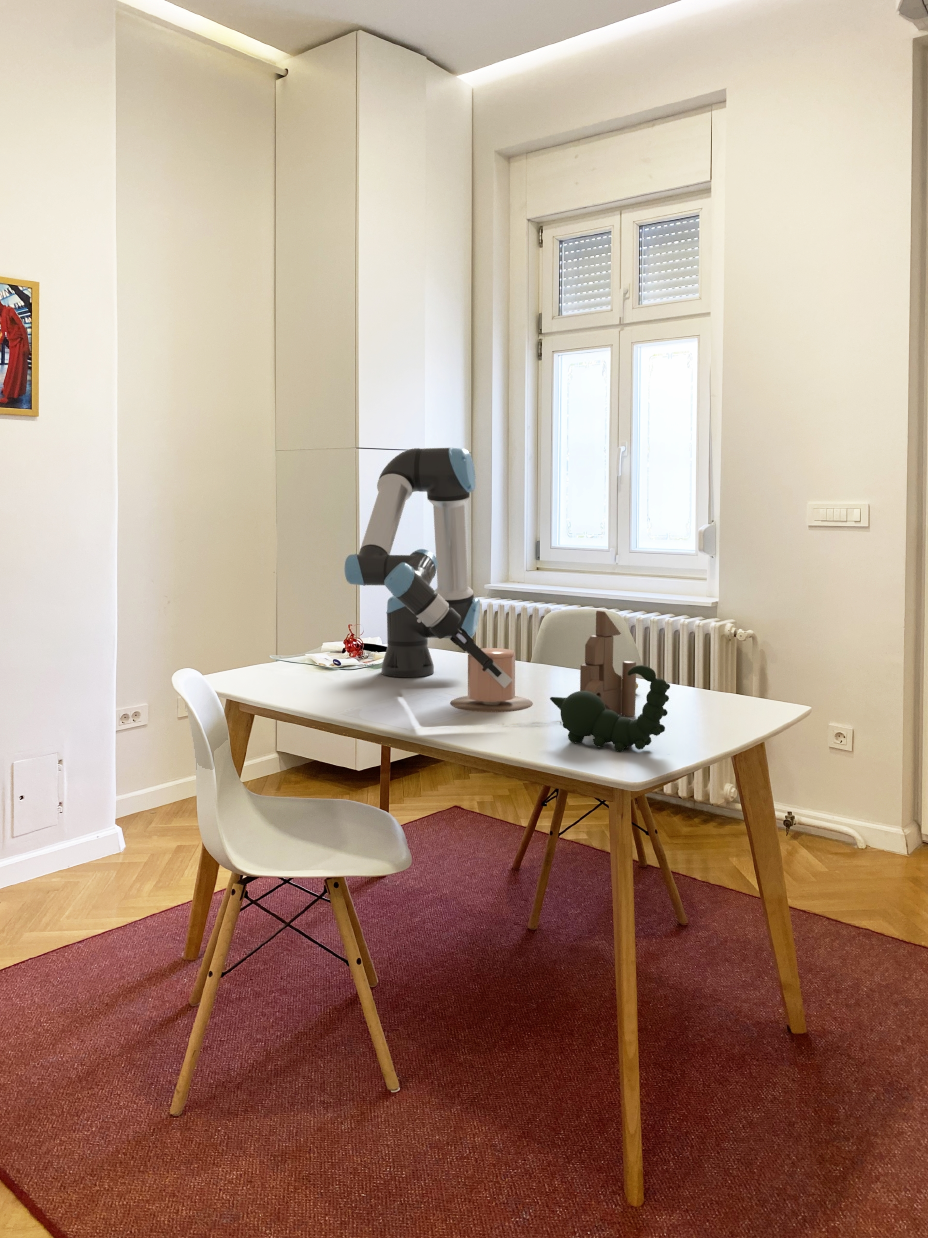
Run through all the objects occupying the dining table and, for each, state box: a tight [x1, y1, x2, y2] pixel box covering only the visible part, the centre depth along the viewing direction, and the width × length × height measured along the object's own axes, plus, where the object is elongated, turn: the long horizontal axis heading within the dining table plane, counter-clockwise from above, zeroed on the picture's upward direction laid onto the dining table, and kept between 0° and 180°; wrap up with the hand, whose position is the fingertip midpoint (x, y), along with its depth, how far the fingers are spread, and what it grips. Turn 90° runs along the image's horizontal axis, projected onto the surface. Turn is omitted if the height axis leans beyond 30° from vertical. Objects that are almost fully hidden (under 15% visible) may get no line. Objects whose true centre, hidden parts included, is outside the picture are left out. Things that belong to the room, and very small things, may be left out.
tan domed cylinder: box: [467, 647, 516, 702], centre depth 231 cm, size 11×11×11 cm
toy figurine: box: [549, 664, 671, 753], centre depth 197 cm, size 9×19×25 cm
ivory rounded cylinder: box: [482, 701, 501, 705], centre depth 232 cm, size 4×4×4 cm
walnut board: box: [449, 695, 534, 713], centre depth 232 cm, size 20×20×2 cm
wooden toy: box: [579, 610, 637, 718], centre depth 221 cm, size 15×7×25 cm, turn 130°
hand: (502, 679), depth 232 cm, fingers closed on tan domed cylinder, 11 cm apart
